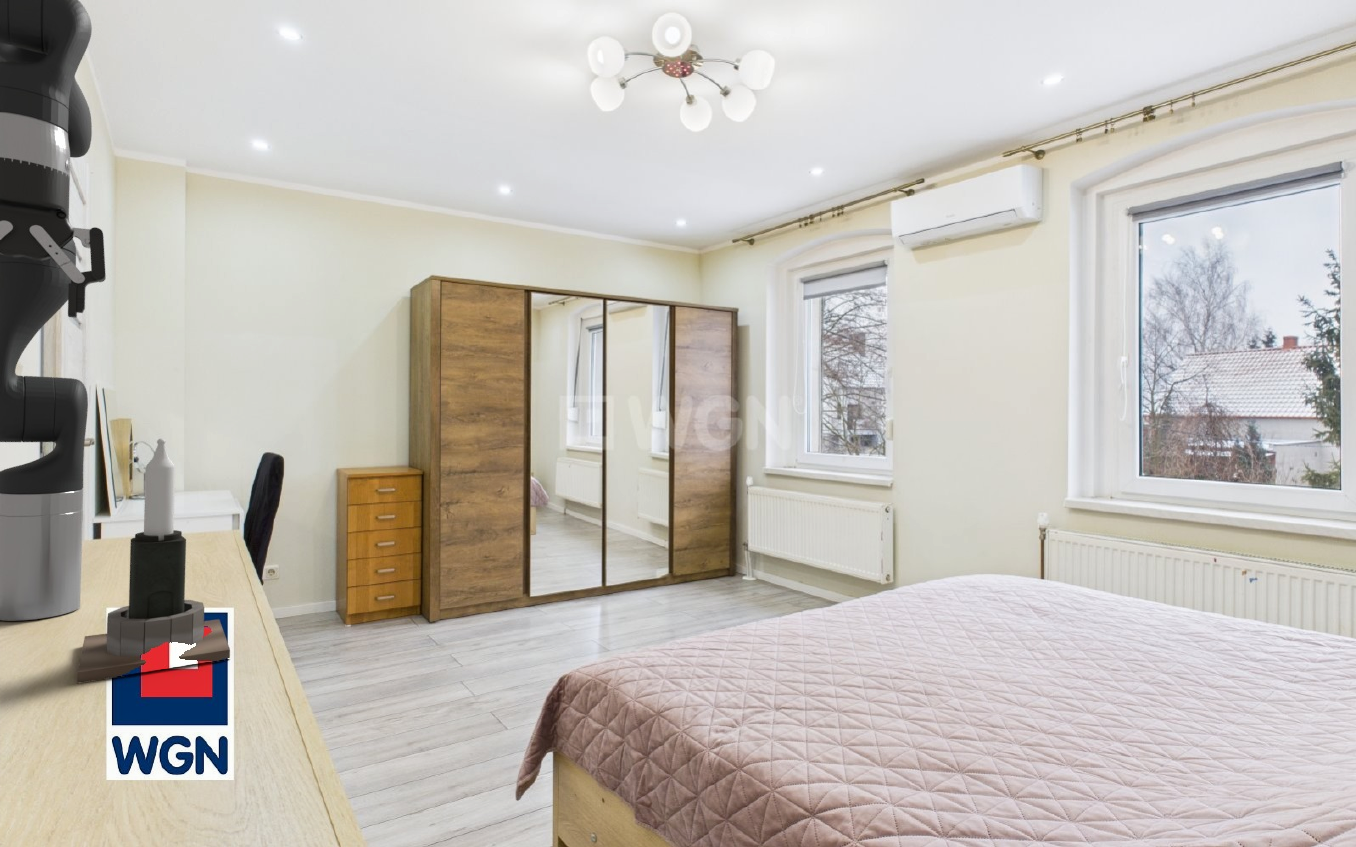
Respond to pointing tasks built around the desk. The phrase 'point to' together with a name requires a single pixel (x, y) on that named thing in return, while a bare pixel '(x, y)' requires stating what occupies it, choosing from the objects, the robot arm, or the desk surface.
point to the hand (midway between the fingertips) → (21, 312)
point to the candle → (158, 547)
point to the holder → (149, 641)
